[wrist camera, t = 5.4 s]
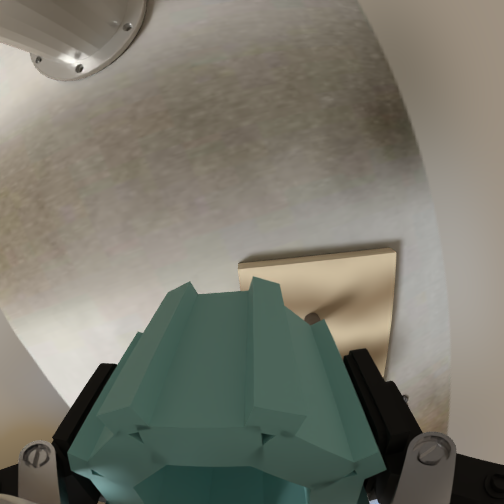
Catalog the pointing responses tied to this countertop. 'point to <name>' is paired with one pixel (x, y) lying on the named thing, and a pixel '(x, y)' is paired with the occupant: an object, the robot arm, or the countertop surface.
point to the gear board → (337, 295)
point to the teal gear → (228, 409)
